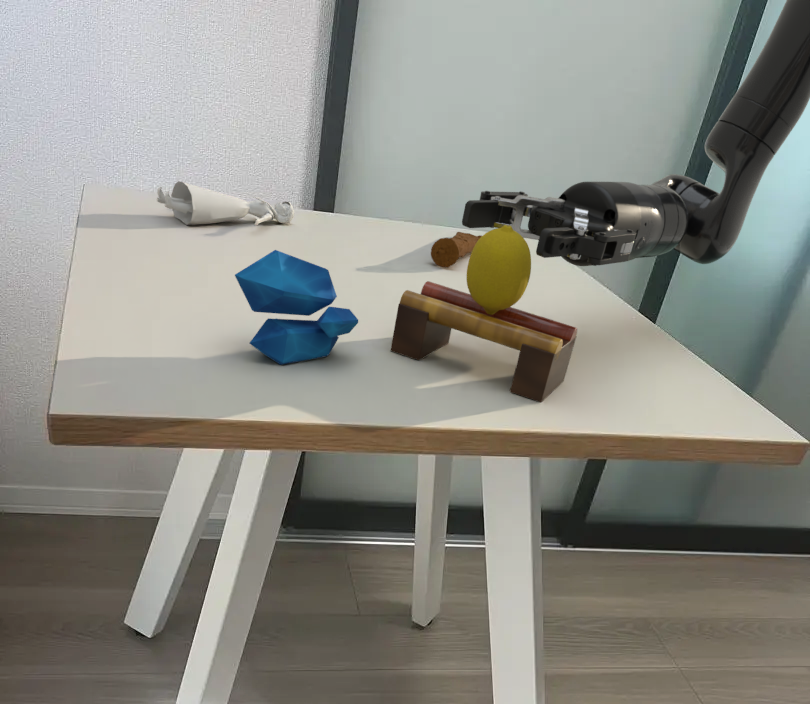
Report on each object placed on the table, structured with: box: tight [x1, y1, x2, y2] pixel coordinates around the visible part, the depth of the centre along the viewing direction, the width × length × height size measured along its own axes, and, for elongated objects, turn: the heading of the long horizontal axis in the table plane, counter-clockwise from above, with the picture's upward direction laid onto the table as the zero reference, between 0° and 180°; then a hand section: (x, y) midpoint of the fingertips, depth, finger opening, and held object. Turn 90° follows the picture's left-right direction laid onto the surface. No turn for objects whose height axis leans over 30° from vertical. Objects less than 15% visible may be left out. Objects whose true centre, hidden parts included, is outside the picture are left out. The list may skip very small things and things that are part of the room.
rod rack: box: [390, 280, 578, 403], centre depth 82 cm, size 15×7×6 cm, turn 64°
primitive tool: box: [430, 231, 483, 268], centre depth 118 cm, size 19×6×4 cm, turn 165°
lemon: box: [466, 225, 532, 315], centre depth 78 cm, size 6×6×8 cm
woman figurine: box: [156, 180, 295, 226], centre depth 111 cm, size 12×4×18 cm
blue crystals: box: [234, 249, 359, 366], centre depth 75 cm, size 7×9×12 cm
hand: (502, 228), depth 76 cm, fingers open, 8 cm apart
